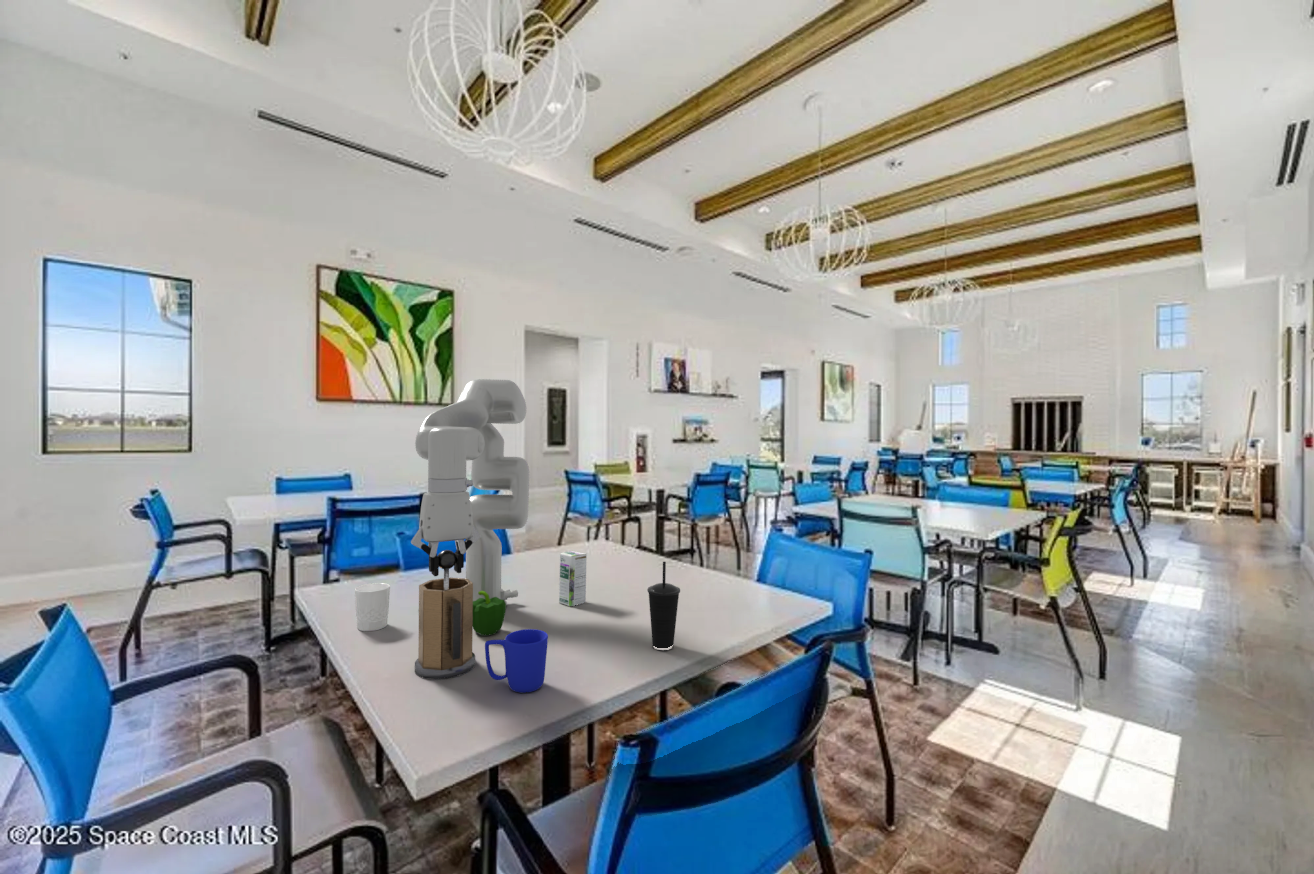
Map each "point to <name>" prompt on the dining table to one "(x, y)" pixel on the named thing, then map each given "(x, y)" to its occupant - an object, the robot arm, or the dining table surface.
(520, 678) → the mug
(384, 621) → the white cup
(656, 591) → the drinking cup
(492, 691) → the dining table surface
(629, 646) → the dining table surface
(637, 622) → the dining table surface
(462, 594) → the tan octagonal hollow container
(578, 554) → the syrup box
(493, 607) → the bell pepper
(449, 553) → the plunger
